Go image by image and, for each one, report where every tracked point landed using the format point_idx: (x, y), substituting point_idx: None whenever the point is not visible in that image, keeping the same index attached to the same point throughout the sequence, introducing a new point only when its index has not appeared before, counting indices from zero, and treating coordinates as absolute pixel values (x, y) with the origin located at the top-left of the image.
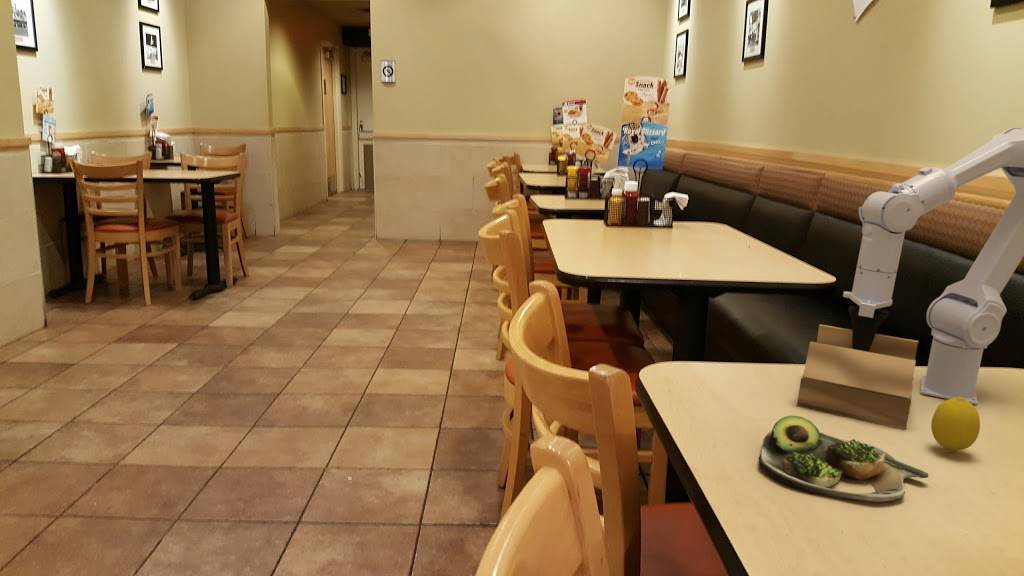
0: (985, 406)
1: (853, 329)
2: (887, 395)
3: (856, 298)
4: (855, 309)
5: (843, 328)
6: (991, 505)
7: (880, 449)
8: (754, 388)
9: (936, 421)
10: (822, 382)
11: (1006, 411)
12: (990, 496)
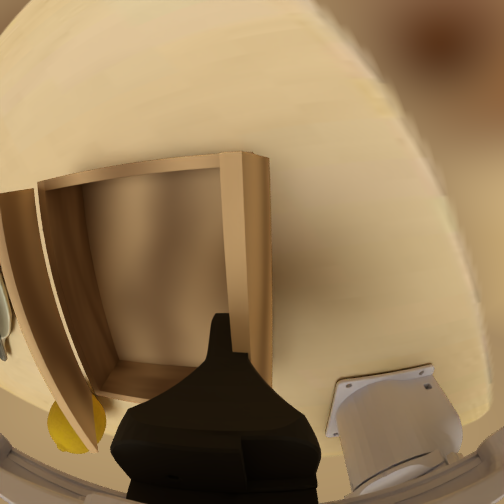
0: (330, 438)
1: (203, 363)
2: (83, 363)
3: (9, 501)
4: (117, 461)
5: (244, 306)
6: (27, 393)
7: (8, 324)
8: (126, 65)
9: (54, 404)
10: (45, 235)
11: (322, 452)
12: (39, 398)
